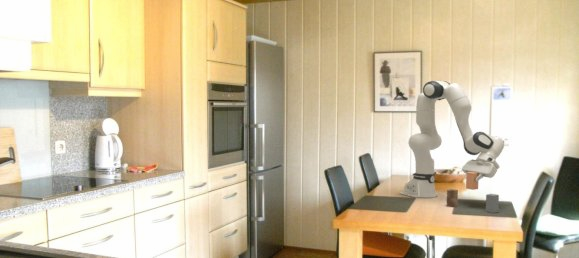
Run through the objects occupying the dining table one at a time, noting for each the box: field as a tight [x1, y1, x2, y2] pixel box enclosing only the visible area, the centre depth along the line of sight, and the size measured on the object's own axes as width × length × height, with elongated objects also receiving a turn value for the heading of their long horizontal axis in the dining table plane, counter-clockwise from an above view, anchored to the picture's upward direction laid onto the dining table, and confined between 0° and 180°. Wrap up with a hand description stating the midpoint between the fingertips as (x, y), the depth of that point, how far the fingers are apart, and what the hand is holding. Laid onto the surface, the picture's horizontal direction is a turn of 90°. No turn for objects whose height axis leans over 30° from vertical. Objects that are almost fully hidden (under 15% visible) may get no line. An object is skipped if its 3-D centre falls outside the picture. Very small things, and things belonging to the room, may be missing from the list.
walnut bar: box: [446, 188, 459, 208], centre depth 283 cm, size 4×4×9 cm
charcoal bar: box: [485, 193, 500, 214], centre depth 268 cm, size 4×4×9 cm
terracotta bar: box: [465, 172, 479, 191], centre depth 280 cm, size 4×4×9 cm
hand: (471, 180), depth 280 cm, fingers closed on terracotta bar, 4 cm apart
